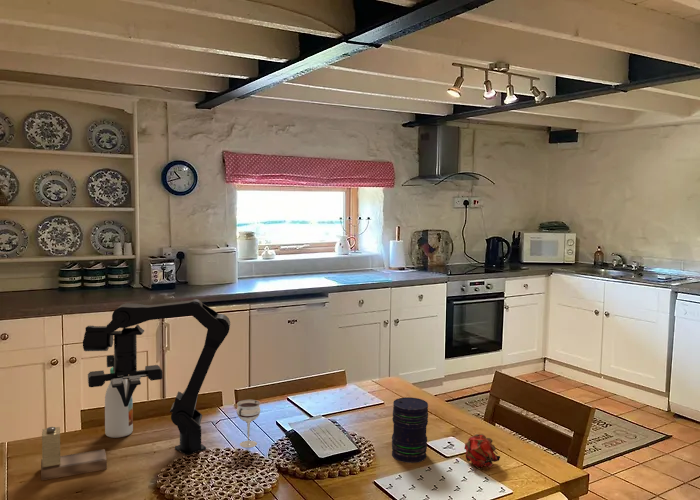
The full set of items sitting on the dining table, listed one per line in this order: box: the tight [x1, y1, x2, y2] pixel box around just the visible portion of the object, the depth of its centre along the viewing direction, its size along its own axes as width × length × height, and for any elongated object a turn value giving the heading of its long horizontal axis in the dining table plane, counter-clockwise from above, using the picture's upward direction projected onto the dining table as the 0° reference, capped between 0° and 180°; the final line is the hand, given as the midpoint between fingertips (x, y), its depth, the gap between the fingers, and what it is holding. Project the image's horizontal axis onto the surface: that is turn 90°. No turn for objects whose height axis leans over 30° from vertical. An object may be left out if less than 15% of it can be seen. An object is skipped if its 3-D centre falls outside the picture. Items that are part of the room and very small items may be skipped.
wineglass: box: [236, 399, 261, 449], centre depth 166 cm, size 7×7×12 cm
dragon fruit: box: [464, 433, 501, 471], centre depth 157 cm, size 8×8×12 cm
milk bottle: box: [104, 367, 134, 439], centre depth 171 cm, size 8×8×20 cm
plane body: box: [40, 448, 108, 481], centre depth 149 cm, size 15×7×2 cm, turn 117°
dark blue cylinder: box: [391, 396, 429, 464], centre depth 161 cm, size 10×10×15 cm
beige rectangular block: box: [41, 426, 61, 467], centre depth 146 cm, size 4×5×9 cm
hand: (125, 406), depth 159 cm, fingers closed
